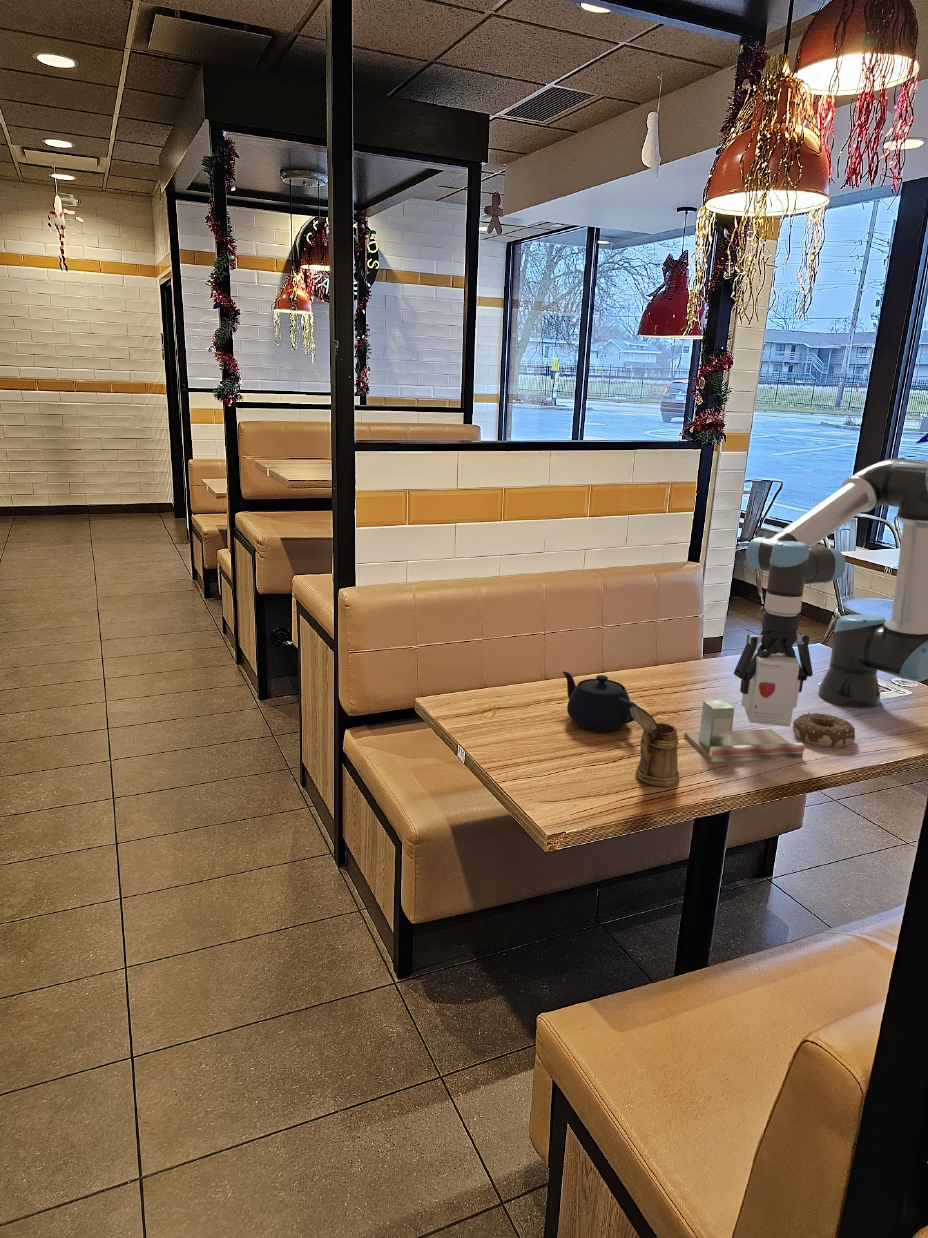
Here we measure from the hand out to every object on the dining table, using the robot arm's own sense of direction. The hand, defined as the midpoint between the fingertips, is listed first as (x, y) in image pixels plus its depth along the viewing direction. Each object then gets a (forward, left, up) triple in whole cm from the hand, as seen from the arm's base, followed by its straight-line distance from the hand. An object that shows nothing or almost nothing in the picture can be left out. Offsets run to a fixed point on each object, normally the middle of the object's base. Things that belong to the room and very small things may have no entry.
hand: (768, 706), depth 189 cm
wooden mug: (+33, +13, -11) cm, 37 cm away
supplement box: (0, 0, -3) cm, 3 cm away
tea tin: (+12, 0, -9) cm, 15 cm away
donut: (-18, -4, -11) cm, 21 cm away
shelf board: (+5, -1, -10) cm, 11 cm away
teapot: (+34, -19, -11) cm, 40 cm away
